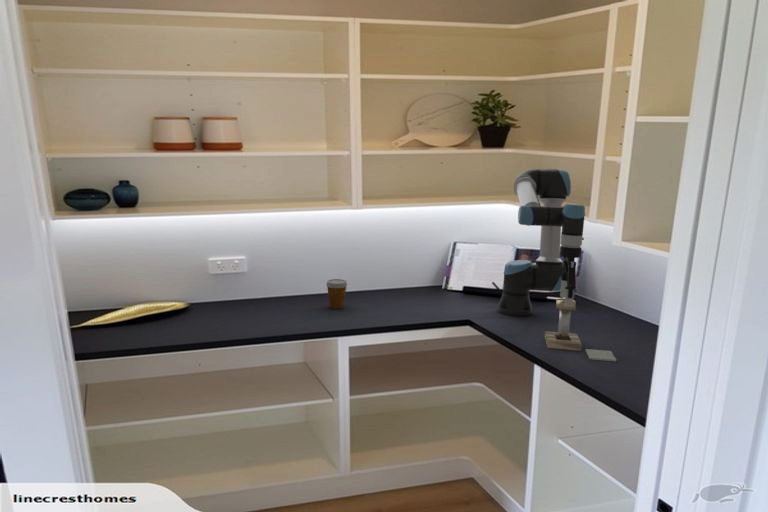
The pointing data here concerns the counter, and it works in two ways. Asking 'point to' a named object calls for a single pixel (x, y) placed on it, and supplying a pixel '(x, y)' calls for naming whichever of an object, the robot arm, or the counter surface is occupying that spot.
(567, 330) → the steel peg
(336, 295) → the orange pill bottle
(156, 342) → the counter surface
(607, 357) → the rubber mat
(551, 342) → the plate
